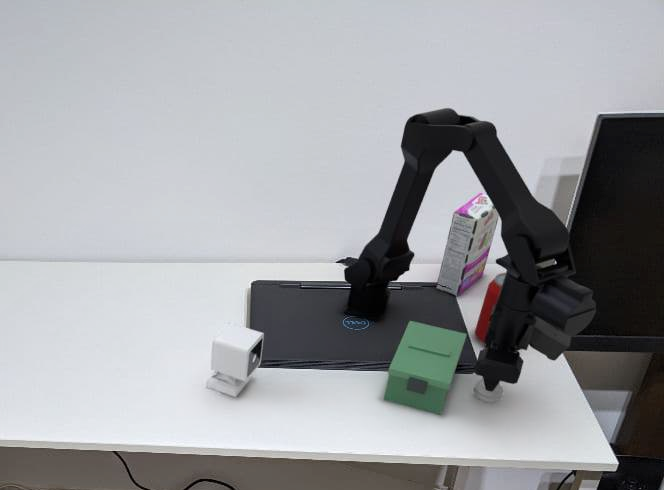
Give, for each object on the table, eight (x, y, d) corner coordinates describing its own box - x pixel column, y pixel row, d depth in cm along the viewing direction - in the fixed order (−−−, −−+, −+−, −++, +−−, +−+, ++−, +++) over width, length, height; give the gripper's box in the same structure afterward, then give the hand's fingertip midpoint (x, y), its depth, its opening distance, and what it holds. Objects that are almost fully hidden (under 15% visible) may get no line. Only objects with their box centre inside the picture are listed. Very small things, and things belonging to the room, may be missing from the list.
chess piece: (479, 404, 135) (492, 363, 130) (467, 386, 139) (479, 346, 134) (507, 402, 136) (522, 362, 131) (495, 385, 139) (508, 344, 134)
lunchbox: (381, 401, 138) (388, 367, 133) (403, 349, 149) (410, 317, 145) (440, 417, 134) (450, 383, 130) (458, 363, 146) (468, 330, 141)
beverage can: (516, 352, 148) (536, 292, 141) (475, 348, 149) (493, 288, 142) (510, 331, 153) (529, 272, 146) (471, 327, 154) (488, 269, 147)
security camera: (242, 401, 138) (247, 350, 132) (204, 388, 141) (207, 337, 135) (259, 381, 142) (264, 331, 136) (221, 368, 145) (225, 319, 139)
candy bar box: (459, 267, 172) (480, 191, 161) (483, 276, 169) (505, 199, 159) (433, 288, 165) (453, 210, 155) (457, 297, 163) (479, 218, 152)
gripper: (571, 347, 117) (538, 433, 127) (581, 284, 130) (550, 367, 140) (487, 327, 121) (460, 412, 131) (504, 268, 134) (479, 350, 144)
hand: (490, 384), depth 136 cm, fingers closed on chess piece, 3 cm apart
